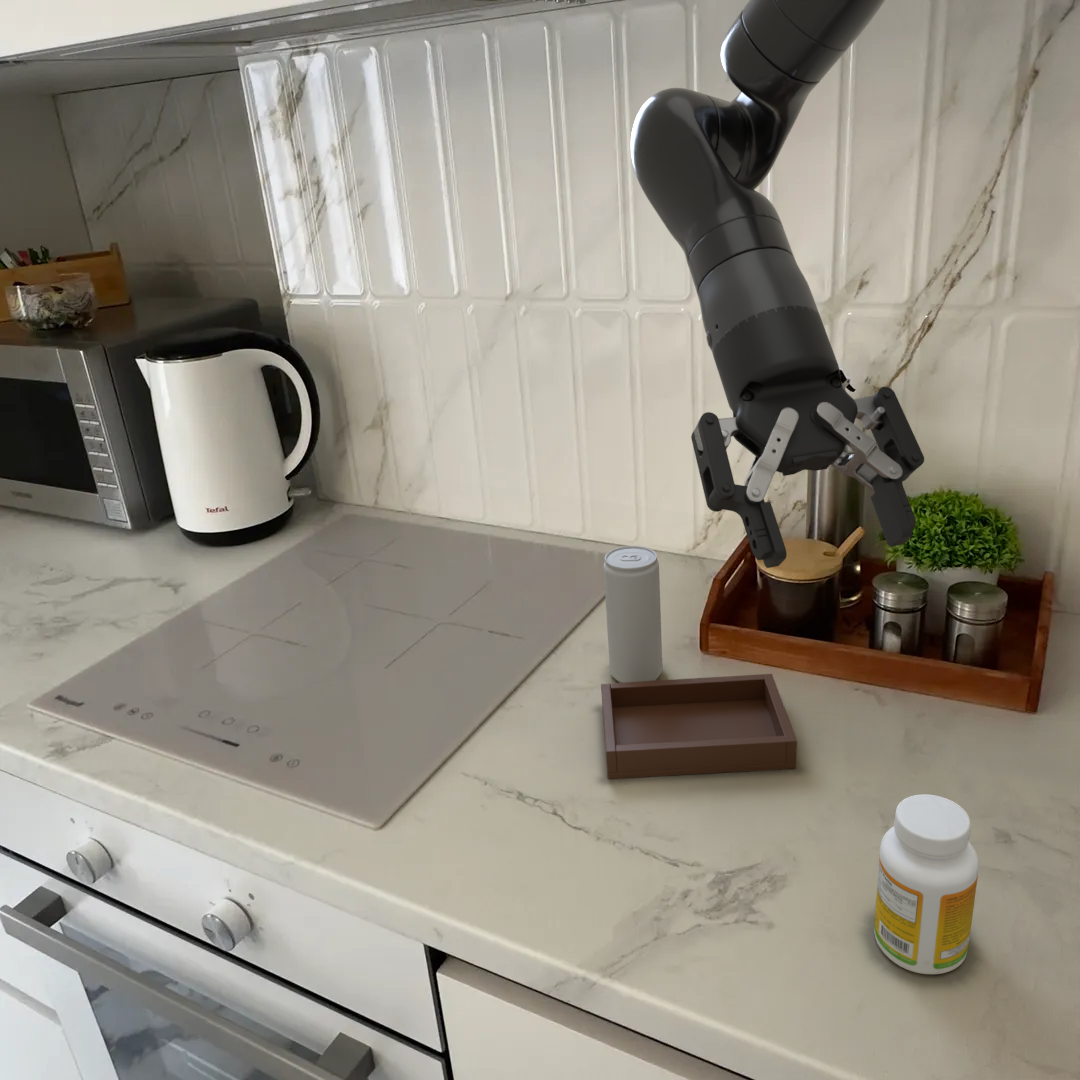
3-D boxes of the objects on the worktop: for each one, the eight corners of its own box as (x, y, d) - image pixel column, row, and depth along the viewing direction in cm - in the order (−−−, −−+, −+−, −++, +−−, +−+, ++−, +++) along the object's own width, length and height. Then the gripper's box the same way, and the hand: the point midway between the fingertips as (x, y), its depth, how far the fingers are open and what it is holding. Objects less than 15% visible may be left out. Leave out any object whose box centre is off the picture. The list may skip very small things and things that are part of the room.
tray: (771, 699, 84) (772, 673, 83) (796, 768, 75) (797, 741, 74) (602, 709, 85) (600, 683, 84) (607, 779, 76) (605, 751, 75)
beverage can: (661, 689, 87) (657, 568, 82) (607, 688, 88) (600, 569, 83) (663, 660, 91) (659, 544, 86) (612, 660, 92) (605, 545, 87)
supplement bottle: (962, 915, 61) (978, 790, 57) (972, 984, 57) (990, 854, 53) (871, 902, 63) (881, 780, 59) (874, 969, 58) (884, 842, 54)
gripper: (679, 315, 62) (753, 549, 57) (883, 289, 65) (972, 511, 59) (654, 376, 69) (717, 590, 64) (839, 351, 72) (915, 555, 66)
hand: (840, 552), depth 61 cm, fingers open, 8 cm apart
